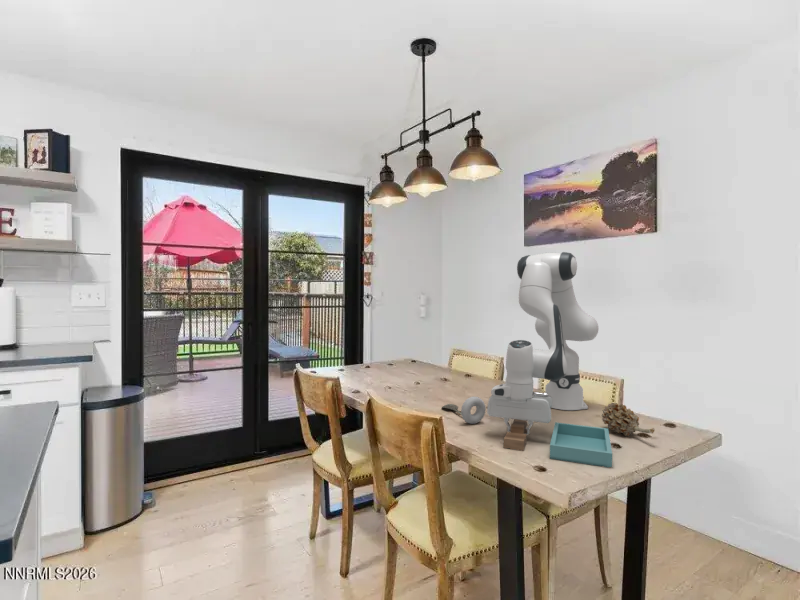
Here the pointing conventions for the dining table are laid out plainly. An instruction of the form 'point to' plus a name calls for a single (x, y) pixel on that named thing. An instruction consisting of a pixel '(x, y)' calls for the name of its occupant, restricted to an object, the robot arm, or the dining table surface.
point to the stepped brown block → (516, 435)
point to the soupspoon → (451, 407)
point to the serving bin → (581, 444)
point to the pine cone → (622, 419)
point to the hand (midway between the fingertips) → (518, 432)
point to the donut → (467, 410)
